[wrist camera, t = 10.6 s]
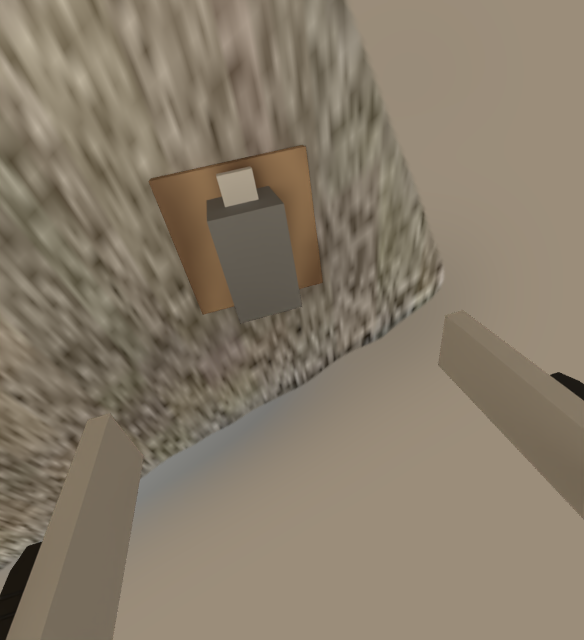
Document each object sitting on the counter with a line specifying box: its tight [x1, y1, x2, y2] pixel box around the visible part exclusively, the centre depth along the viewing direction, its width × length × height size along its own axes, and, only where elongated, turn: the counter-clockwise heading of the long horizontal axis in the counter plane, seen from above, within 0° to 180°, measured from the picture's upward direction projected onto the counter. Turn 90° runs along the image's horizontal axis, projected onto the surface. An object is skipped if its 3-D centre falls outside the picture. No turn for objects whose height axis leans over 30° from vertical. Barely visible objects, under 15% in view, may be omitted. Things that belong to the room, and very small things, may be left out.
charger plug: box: [207, 167, 302, 324], centre depth 24 cm, size 5×10×6 cm, turn 10°
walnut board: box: [149, 145, 323, 314], centre depth 27 cm, size 12×12×1 cm
